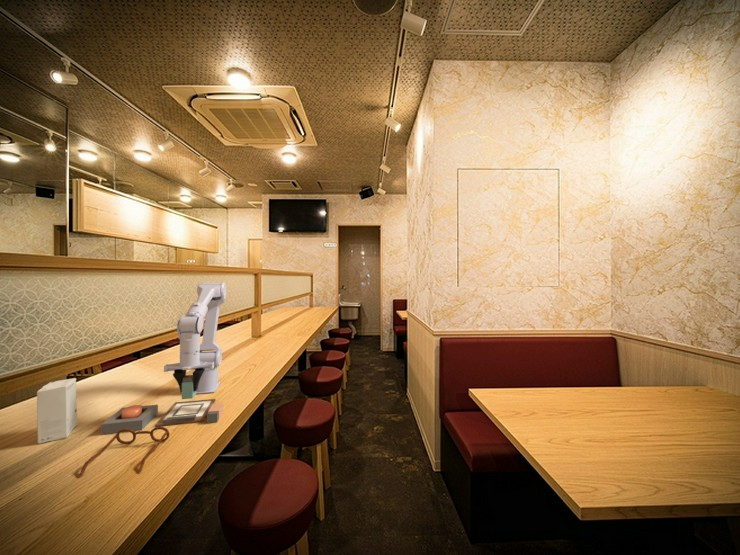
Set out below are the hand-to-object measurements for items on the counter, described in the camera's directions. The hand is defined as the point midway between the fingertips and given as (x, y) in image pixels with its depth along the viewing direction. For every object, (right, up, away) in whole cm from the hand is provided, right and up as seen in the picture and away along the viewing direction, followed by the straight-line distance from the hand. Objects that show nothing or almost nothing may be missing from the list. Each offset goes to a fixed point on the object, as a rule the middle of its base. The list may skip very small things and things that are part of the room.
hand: (189, 390), depth 94 cm
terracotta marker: (+10, -8, -3) cm, 13 cm away
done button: (-13, -6, -8) cm, 16 cm away
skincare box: (-29, -7, -14) cm, 33 cm away
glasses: (-1, -8, -23) cm, 24 cm away
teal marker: (0, -2, 0) cm, 2 cm away
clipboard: (0, -7, 0) cm, 7 cm away
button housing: (-13, -7, -8) cm, 17 cm away
